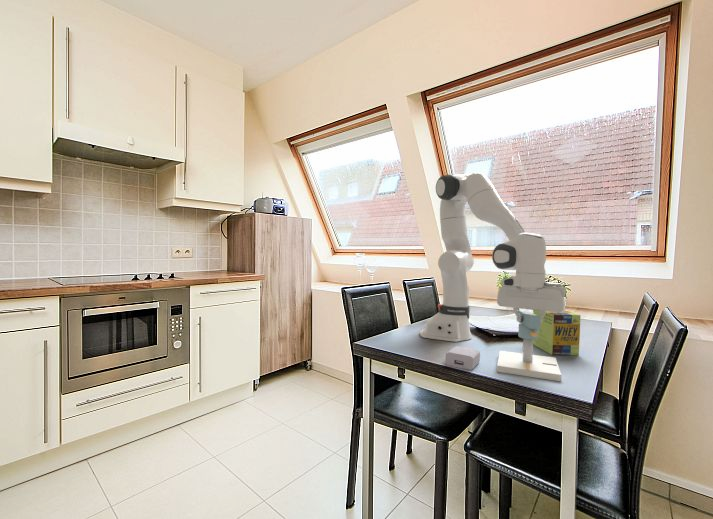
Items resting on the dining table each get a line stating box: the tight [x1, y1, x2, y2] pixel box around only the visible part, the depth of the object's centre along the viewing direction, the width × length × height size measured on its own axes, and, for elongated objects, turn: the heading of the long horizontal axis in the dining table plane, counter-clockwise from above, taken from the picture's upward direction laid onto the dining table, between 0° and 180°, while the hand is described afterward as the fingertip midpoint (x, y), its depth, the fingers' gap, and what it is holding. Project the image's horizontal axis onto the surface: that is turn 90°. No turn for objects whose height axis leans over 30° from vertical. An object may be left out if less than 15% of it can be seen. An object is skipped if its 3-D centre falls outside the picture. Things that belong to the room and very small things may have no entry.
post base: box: [496, 338, 562, 382], centre depth 116 cm, size 18×18×10 cm
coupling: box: [517, 310, 541, 339], centre depth 116 cm, size 10×6×8 cm, turn 176°
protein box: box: [532, 309, 581, 356], centre depth 137 cm, size 10×15×16 cm
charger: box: [445, 345, 481, 371], centre depth 122 cm, size 5×9×15 cm
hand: (528, 322), depth 115 cm, fingers closed on coupling, 4 cm apart
